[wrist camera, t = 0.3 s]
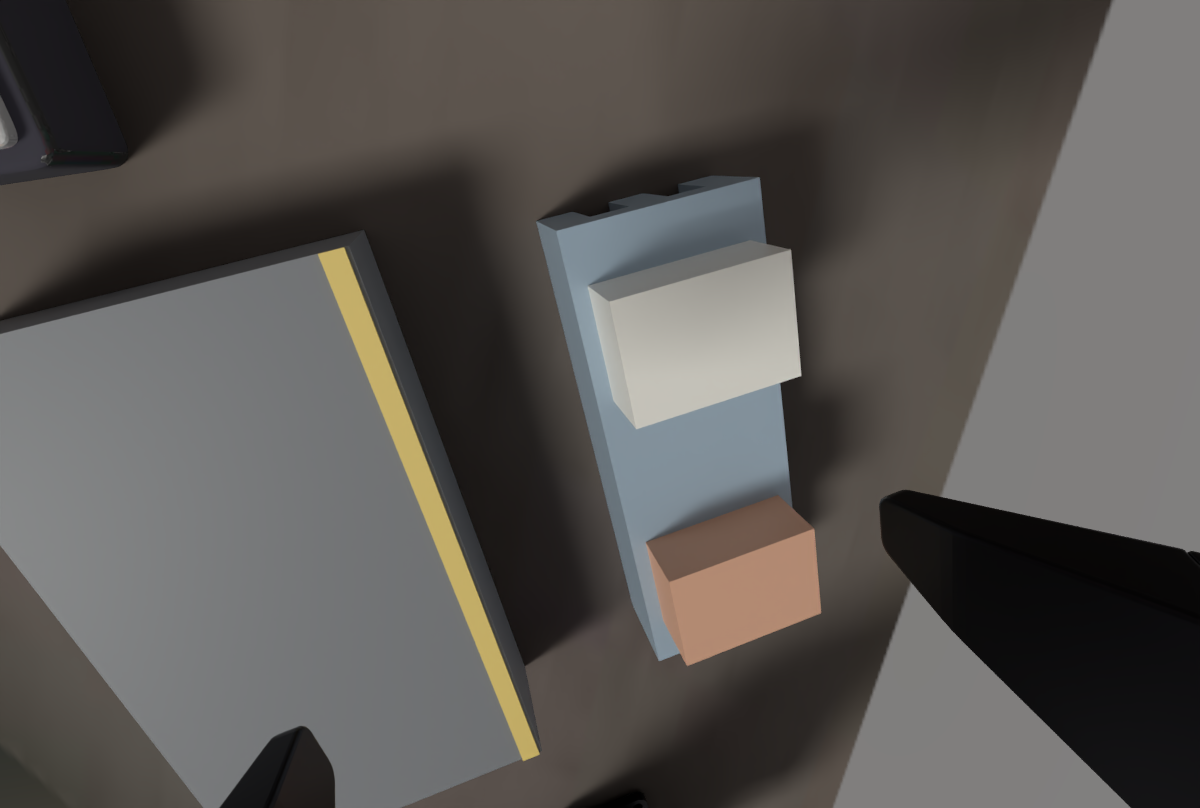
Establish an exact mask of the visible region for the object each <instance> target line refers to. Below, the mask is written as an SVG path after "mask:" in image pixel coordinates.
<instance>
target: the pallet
mask: <svg viewBox="0 0 1200 808" xmlns="http://www.w3.org/2000/svg"><path fill="white" fill-rule="evenodd" d="M678 190H679V194H675V195H671V196H661V195H653V194H645V193H642V194H638V195H635V196H631V197H627V198H623V199H619V200H615V201H611V202H608V203H609V208H610V212H606V213H603V214H599V215H595V216H591V217H588V216H585V215H582V214H579V213H576V212H569V213H565V214H561V215H557V216H554V217H550V218H546V219H542V220H538V221H536V222H537V226H538V230H539V234H540V238H541V242H542V246H543V250H544V254H545V258H546V262H547V266H548V270H549V274H550V278H551V282H552V286H553V290H554V294H555V298H556V302H557V306H558V310H559V314H560V318H561V322H562V326H563V330H564V334H565V338H566V342H567V346H568V350H569V354H570V358H571V362H572V366H573V370H574V374H575V378H576V382H577V386H578V390H579V394H580V398H581V401H582V405H583V409H584V413H585V417H586V421H587V425H588V429H589V433H590V437H591V441H592V445H593V449H594V453H595V457H596V461H597V465H598V469H599V473H600V477H601V481H602V485H603V489H604V493H605V497H606V501H607V505H608V509H609V513H610V517H611V521H612V525H613V529H614V533H615V537H616V541H617V545H618V549H619V553H620V557H621V561H622V565H623V569H624V573H625V577H626V581H627V585H628V589H629V593H630V597H631V601H632V604H633V607H634V609H635V611H636V614H637V616H638V618H639V620H640V622H641V624H642V626H643V628H644V630H645V633H646V635H647V637H648V639H649V641H650V643H651V645H652V647H653V649H654V652H655V654H656V656H657V658H658V660H659V661H661V660H664V659H666V658H669V657H671V656H674V655H676V654H679V653H680V652H679V650H678V648H677V646H676V644H675V642H674V640H673V638H672V636H671V634H670V633H669V631H668V629H667V627H666V625H665V623H664V621H663V617H662V612H661V608H660V604H659V599H658V595H657V590H656V586H655V581H654V577H653V573H652V568H651V564H650V559H649V555H648V551H647V546H646V542H648V541H650V540H653V539H656V538H659V537H662V536H665V535H667V534H670V533H673V532H676V531H679V530H681V529H684V528H687V527H690V526H693V525H695V524H698V523H701V522H704V521H707V520H709V519H712V518H715V517H718V516H721V515H723V514H726V513H729V512H732V511H735V510H737V509H740V508H743V507H746V506H749V505H751V504H754V503H757V502H760V501H763V500H765V499H768V498H771V497H774V496H777V495H779V496H780V497H781V498H782V499H783V500H784V501H785V502H786V503H787V504H788V505H789V506H790V507H791V508H792V498H791V488H790V478H789V468H788V457H787V447H786V437H785V427H784V417H783V407H782V397H781V387H780V383H778V384H775V385H772V386H769V387H766V388H763V389H759V390H756V391H753V392H750V393H747V394H744V395H741V396H738V397H735V398H732V399H729V400H726V401H722V402H719V403H716V404H713V405H710V406H707V407H704V408H701V409H698V410H695V411H692V412H689V413H685V414H682V415H679V416H676V417H673V418H670V419H667V420H664V421H661V422H658V423H655V424H652V425H648V426H645V427H642V428H639V429H636V428H635V427H634V426H633V425H632V423H631V422H630V421H629V420H628V418H627V417H626V416H625V415H624V413H623V412H622V411H621V410H620V408H619V407H618V406H617V405H616V403H615V402H614V401H613V396H612V392H611V388H610V383H609V379H608V374H607V370H606V366H605V361H604V357H603V352H602V348H601V343H600V339H599V335H598V330H597V326H596V321H595V317H594V313H593V308H592V304H591V299H590V295H589V290H588V285H592V284H596V283H599V282H603V281H606V280H610V279H613V278H617V277H620V276H624V275H628V274H631V273H635V272H638V271H642V270H645V269H649V268H653V267H656V266H660V265H663V264H667V263H670V262H674V261H677V260H681V259H685V258H688V257H692V256H695V255H699V254H702V253H706V252H710V251H713V250H717V249H720V248H724V247H727V246H731V245H734V244H738V243H742V242H745V241H749V240H752V241H756V242H760V243H765V244H766V235H765V225H764V215H763V205H762V195H761V185H760V177H738V176H708V177H704V178H700V179H696V180H692V181H688V182H685V183H681V184H678Z"/></svg>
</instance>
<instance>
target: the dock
mask: <svg viewBox="0 0 1200 808" xmlns="http://www.w3.org/2000/svg"><path fill="white" fill-rule="evenodd" d="M0 545H1V547H2V548H3V549H4V551H5V552H6V553H7V555H8V556H9V557H10V558H11V560H12V561H13V562H14V564H15V565H16V566H17V567H18V569H19V570H20V571H21V573H22V574H23V575H24V576H25V578H26V579H27V580H28V582H29V583H30V584H31V586H32V587H33V588H34V589H35V591H36V592H37V593H38V595H39V596H40V597H41V598H42V600H43V601H44V602H45V604H46V605H47V606H48V607H49V609H50V610H51V611H52V613H53V614H54V615H55V617H56V618H57V619H58V620H59V622H60V623H61V624H62V626H63V627H64V628H65V629H66V631H67V632H68V633H69V635H70V636H71V637H72V639H73V640H74V641H75V642H76V644H77V645H78V646H79V648H80V649H81V650H82V651H83V653H84V654H85V655H86V657H87V658H88V659H89V660H90V662H91V663H92V664H93V666H94V667H95V668H96V670H97V671H98V672H99V673H100V675H101V676H102V677H103V679H104V680H105V681H106V682H107V684H108V685H109V686H110V688H111V689H112V690H113V691H114V693H115V694H116V695H117V697H118V698H119V699H120V701H121V702H122V703H123V704H124V706H125V707H126V708H127V710H128V711H129V712H130V713H131V715H132V716H133V717H134V719H135V720H136V721H137V722H138V724H139V725H140V726H141V728H142V729H143V730H144V732H145V733H146V734H147V735H148V737H149V738H150V739H151V741H152V742H153V743H154V744H155V746H156V747H157V748H158V750H159V751H160V752H161V753H162V755H163V756H164V757H165V759H166V760H167V761H168V763H169V764H170V765H171V766H172V768H173V769H174V770H175V772H176V773H177V774H178V775H179V777H180V778H181V779H182V781H183V782H184V783H185V784H186V786H187V787H188V788H189V790H190V791H191V792H192V794H193V795H194V796H195V797H196V799H197V800H198V801H199V803H200V804H201V805H202V806H203V808H219V807H220V806H221V805H222V803H223V802H224V801H225V799H226V798H227V797H228V795H229V794H230V793H231V791H232V790H233V789H234V787H235V786H236V785H237V783H238V782H239V781H240V779H241V778H242V776H243V775H244V774H245V772H246V771H247V770H248V768H249V767H250V766H251V764H252V763H253V762H254V760H255V759H256V758H257V756H258V755H259V754H260V752H261V751H262V750H263V748H264V747H265V746H266V744H267V743H268V742H269V741H270V739H271V738H273V737H274V736H276V735H277V734H280V733H282V732H285V731H287V730H290V729H293V728H295V727H298V726H306V727H307V728H309V729H310V731H311V732H312V733H313V735H314V737H315V738H316V740H317V741H318V743H319V745H320V746H321V748H322V749H323V751H324V753H325V754H326V756H327V757H328V759H329V761H330V762H331V765H332V767H333V771H334V776H335V808H401V807H404V806H406V805H409V804H411V803H414V802H416V801H419V800H421V799H424V798H426V797H429V796H431V795H434V794H436V793H439V792H441V791H444V790H446V789H449V788H451V787H454V786H456V785H459V784H461V783H464V782H466V781H468V780H471V779H473V778H476V777H478V776H481V775H483V774H486V773H488V772H491V771H493V770H496V769H498V768H501V767H503V766H506V765H508V764H511V763H513V762H516V761H518V760H521V759H523V761H525V760H527V759H530V758H532V757H535V756H537V755H540V754H539V752H540V751H542V749H541V744H540V740H539V735H538V730H537V725H536V720H535V715H534V710H533V705H532V700H531V695H530V690H529V685H528V680H527V675H526V670H525V666H524V663H523V661H522V658H521V655H520V652H519V650H518V647H517V644H516V642H515V639H514V636H513V633H512V631H511V628H510V625H509V622H508V620H507V617H506V614H505V612H504V609H503V606H502V603H501V601H500V598H499V595H498V593H497V590H496V587H495V584H494V582H493V579H492V576H491V574H490V571H489V568H488V565H487V563H486V560H485V557H484V554H483V552H482V549H481V546H480V544H479V541H478V538H477V535H476V533H475V530H474V527H473V525H472V522H471V519H470V516H469V514H468V511H467V508H466V506H465V503H464V500H463V497H462V495H461V492H460V489H459V487H458V484H457V481H456V478H455V476H454V473H453V470H452V467H451V465H450V462H449V459H448V457H447V454H446V451H445V448H444V446H443V443H442V440H441V438H440V435H439V432H438V429H437V427H436V424H435V421H434V419H433V416H432V413H431V410H430V408H429V405H428V402H427V399H426V397H425V394H424V391H423V389H422V386H421V383H420V380H419V378H418V375H417V372H416V370H415V367H414V364H413V361H412V359H411V356H410V353H409V351H408V348H407V345H406V342H405V340H404V337H403V334H402V331H401V329H400V326H399V323H398V321H397V318H396V315H395V312H394V310H393V307H392V304H391V302H390V299H389V296H388V293H387V291H386V288H385V285H384V283H383V280H382V277H381V274H380V272H379V269H378V266H377V264H376V261H375V258H374V255H373V253H372V250H371V247H370V244H369V242H368V239H367V236H366V234H365V231H364V230H361V231H357V232H353V233H349V234H345V235H341V236H337V237H333V238H329V239H325V240H321V241H317V242H313V243H309V244H305V245H301V246H297V247H293V248H289V249H285V250H281V251H277V252H273V253H269V254H265V255H261V256H257V257H253V258H249V259H245V260H241V261H237V262H233V263H229V264H225V265H221V266H217V267H213V268H209V269H205V270H201V271H197V272H193V273H189V274H185V275H181V276H177V277H173V278H169V279H165V280H161V281H157V282H153V283H149V284H145V285H141V286H137V287H133V288H129V289H125V290H121V291H117V292H113V293H109V294H105V295H101V296H97V297H93V298H89V299H85V300H81V301H77V302H73V303H69V304H65V305H61V306H57V307H53V308H49V309H45V310H41V311H37V312H33V313H29V314H25V315H21V316H17V317H13V318H9V319H5V320H1V321H0Z"/></svg>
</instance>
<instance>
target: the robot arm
mask: <svg viewBox="0 0 1200 808" xmlns="http://www.w3.org/2000/svg"><path fill="white" fill-rule="evenodd" d="M879 510H880V525H881V539H882V543H883V546H884V548H885V550H886V552H887V554H888V555H889V556H890V557H891V559H892V560H893V561H894V562H895V563H896V565H897V566H898V567H899V568H900V569H901V571H902V572H903V573H904V574H905V575H906V577H907V578H908V579H909V580H910V581H911V583H912V584H913V585H914V586H915V587H916V589H917V590H918V591H919V592H920V593H921V594H922V596H923V597H924V598H925V599H926V601H927V602H928V603H929V604H930V605H931V607H932V608H933V609H934V610H935V611H936V612H937V614H938V615H939V616H940V617H941V619H942V620H943V621H944V622H945V623H946V624H947V625H948V626H949V627H950V629H951V630H952V631H953V632H954V633H955V634H956V635H957V636H958V637H959V638H960V639H961V640H962V641H963V642H964V643H965V644H966V645H967V646H968V647H969V648H970V649H971V650H972V651H973V652H974V653H975V654H976V655H977V656H978V657H979V658H980V659H981V660H982V661H983V662H984V663H985V664H986V665H987V666H988V667H989V668H990V669H991V670H992V671H993V672H994V673H995V674H996V675H997V676H998V677H999V678H1000V679H1001V680H1002V681H1003V682H1004V683H1005V684H1006V685H1007V686H1008V687H1009V688H1010V689H1011V690H1012V691H1013V692H1014V693H1015V694H1016V695H1017V696H1018V697H1019V698H1020V699H1021V700H1023V702H1024V703H1025V704H1026V705H1027V706H1029V708H1030V709H1031V710H1033V712H1034V713H1036V714H1037V715H1038V716H1039V717H1040V718H1041V719H1042V720H1043V721H1044V722H1045V723H1046V724H1047V725H1048V726H1049V727H1050V728H1051V729H1052V730H1053V731H1054V732H1055V733H1056V734H1057V735H1058V736H1059V737H1060V738H1061V739H1062V740H1063V741H1064V742H1065V743H1066V744H1067V745H1068V746H1069V747H1070V748H1071V749H1072V750H1073V751H1074V752H1075V753H1076V754H1077V755H1078V756H1079V757H1080V758H1081V759H1082V760H1083V761H1084V762H1085V763H1086V764H1087V765H1088V766H1089V767H1090V768H1091V769H1092V770H1093V771H1094V772H1095V773H1096V774H1097V775H1098V776H1099V777H1100V778H1101V779H1102V780H1103V781H1104V782H1105V783H1107V784H1108V785H1109V787H1111V789H1113V791H1115V792H1116V793H1117V794H1118V795H1119V796H1120V797H1121V798H1122V799H1123V800H1124V801H1125V802H1126V803H1127V804H1128V805H1129V806H1130V807H1131V808H1200V553H1199V552H1194V551H1190V552H1188V553H1187V552H1186V551H1185V550H1183V549H1180V548H1175V547H1171V546H1166V545H1161V544H1156V543H1152V542H1147V541H1142V540H1138V539H1133V538H1129V537H1124V536H1119V535H1115V534H1110V533H1105V532H1101V531H1096V530H1092V529H1087V528H1082V527H1078V526H1073V525H1068V524H1064V523H1059V522H1054V521H1050V520H1045V519H1041V518H1035V517H1031V516H1026V515H1022V514H1017V513H1013V512H1007V511H1003V510H999V509H994V508H989V507H984V506H980V505H976V504H971V503H966V502H961V501H957V500H952V499H948V498H943V497H938V496H934V495H929V494H925V493H920V492H915V491H911V490H901V491H898V492H896V493H893V494H890V495H888V496H885V497H884V498H882V499H881V501H880V504H879ZM219 808H335V776H334V771H333V767H332V765H331V762H330V761H329V759H328V757H327V756H326V754H325V753H324V751H323V749H322V748H321V746H320V745H319V743H318V741H317V740H316V738H315V737H314V735H313V733H312V732H311V731H310V729H309V728H307V727H306V726H298V727H295V728H293V729H290V730H287V731H285V732H282V733H280V734H277V735H276V736H274V737H273V738H271V739H270V741H269V742H268V743H267V744H266V746H265V747H264V748H263V750H262V751H261V752H260V754H259V755H258V756H257V758H256V759H255V760H254V762H253V763H252V764H251V766H250V767H249V768H248V770H247V771H246V772H245V774H244V775H243V776H242V778H241V779H240V781H239V782H238V783H237V785H236V786H235V787H234V789H233V790H232V791H231V793H230V794H229V795H228V797H227V798H226V799H225V801H224V802H223V803H222V805H221V806H220V807H219ZM599 808H649V807H648V804H647V801H646V798H645V795H644V794H643V793H641V792H635V793H632V794H630V795H628V796H625V797H623V798H621V799H618V800H616V801H613V802H611V803H609V804H606V805H604V806H602V807H599Z"/></svg>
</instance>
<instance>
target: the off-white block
mask: <svg viewBox="0 0 1200 808" xmlns="http://www.w3.org/2000/svg"><path fill="white" fill-rule="evenodd" d="M588 290H589V295H590V299H591V304H592V308H593V313H594V317H595V321H596V326H597V330H598V335H599V339H600V343H601V348H602V352H603V357H604V361H605V366H606V370H607V374H608V379H609V383H610V388H611V392H612V396H613V401H614V402H615V403H616V405H617V406H618V407H619V408H620V410H621V411H622V412H623V413H624V415H625V416H626V417H627V418H628V420H629V421H630V422H631V423H632V425H633V426H634V427H635V428H636V429H639V428H642V427H645V426H648V425H652V424H655V423H658V422H661V421H664V420H667V419H670V418H673V417H676V416H679V415H682V414H685V413H689V412H692V411H695V410H698V409H701V408H704V407H707V406H710V405H713V404H716V403H719V402H722V401H726V400H729V399H732V398H735V397H738V396H741V395H744V394H747V393H750V392H753V391H756V390H759V389H763V388H766V387H769V386H772V385H775V384H778V383H781V382H784V381H787V380H790V379H793V378H796V377H800V376H801V365H800V353H799V341H798V328H797V316H796V304H795V292H794V280H793V268H792V255H791V249H786V248H782V247H778V246H773V245H769V244H765V243H760V242H756V241H752V240H749V241H745V242H742V243H738V244H734V245H731V246H727V247H724V248H720V249H717V250H713V251H710V252H706V253H702V254H699V255H695V256H692V257H688V258H685V259H681V260H677V261H674V262H670V263H667V264H663V265H660V266H656V267H653V268H649V269H645V270H642V271H638V272H635V273H631V274H628V275H624V276H620V277H617V278H613V279H610V280H606V281H603V282H599V283H596V284H592V285H588Z"/></svg>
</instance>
